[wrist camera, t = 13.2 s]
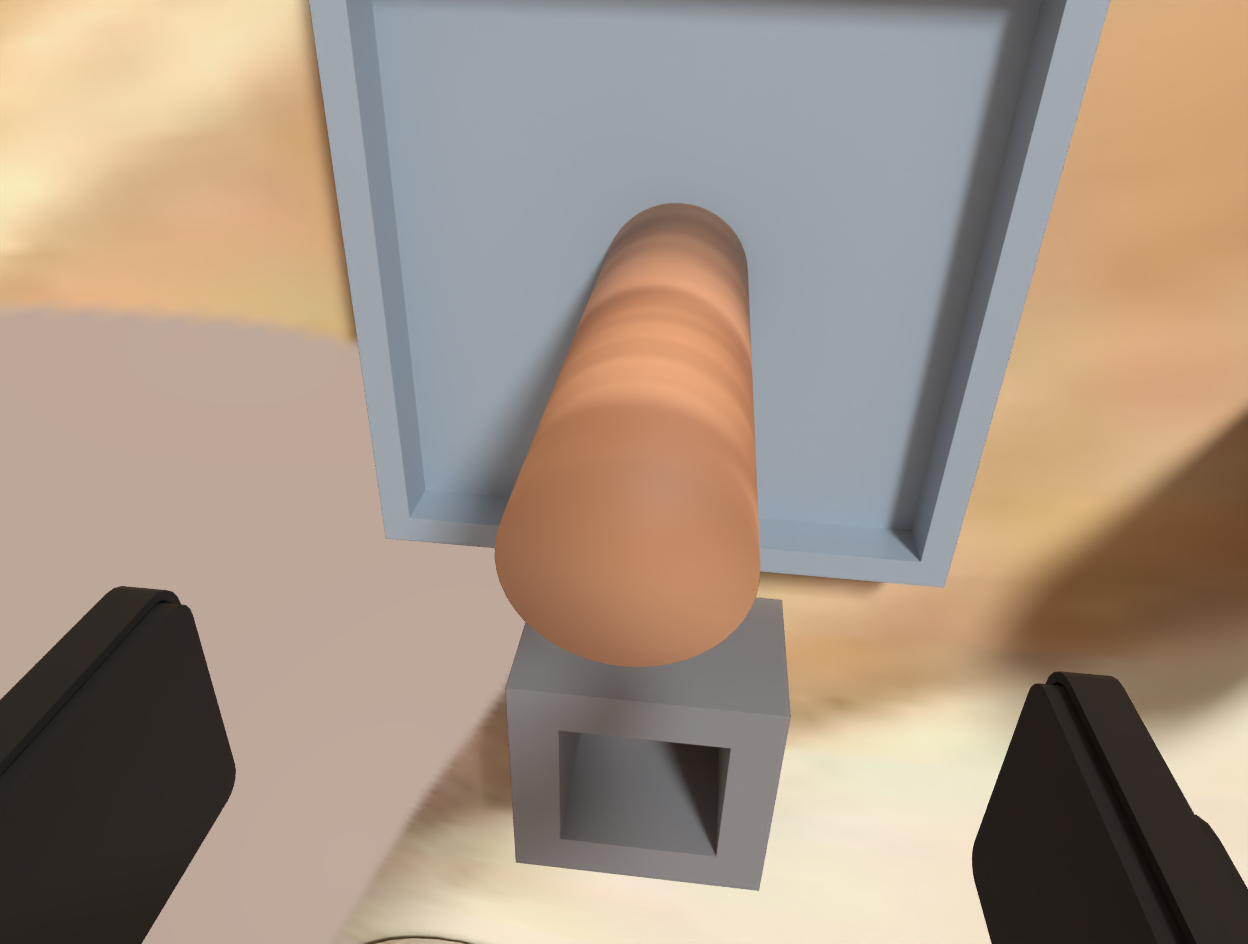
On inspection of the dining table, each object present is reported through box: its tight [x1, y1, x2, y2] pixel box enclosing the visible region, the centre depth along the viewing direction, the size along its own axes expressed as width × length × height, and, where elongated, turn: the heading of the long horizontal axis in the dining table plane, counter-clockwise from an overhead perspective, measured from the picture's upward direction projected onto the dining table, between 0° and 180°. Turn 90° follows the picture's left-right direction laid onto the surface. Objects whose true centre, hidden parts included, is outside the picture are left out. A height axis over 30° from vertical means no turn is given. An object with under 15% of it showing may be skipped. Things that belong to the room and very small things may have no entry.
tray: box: [309, 0, 1110, 588], centre depth 22 cm, size 16×16×2 cm
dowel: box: [495, 203, 761, 667], centre depth 17 cm, size 4×4×12 cm
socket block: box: [505, 598, 791, 891], centre depth 28 cm, size 8×8×5 cm
